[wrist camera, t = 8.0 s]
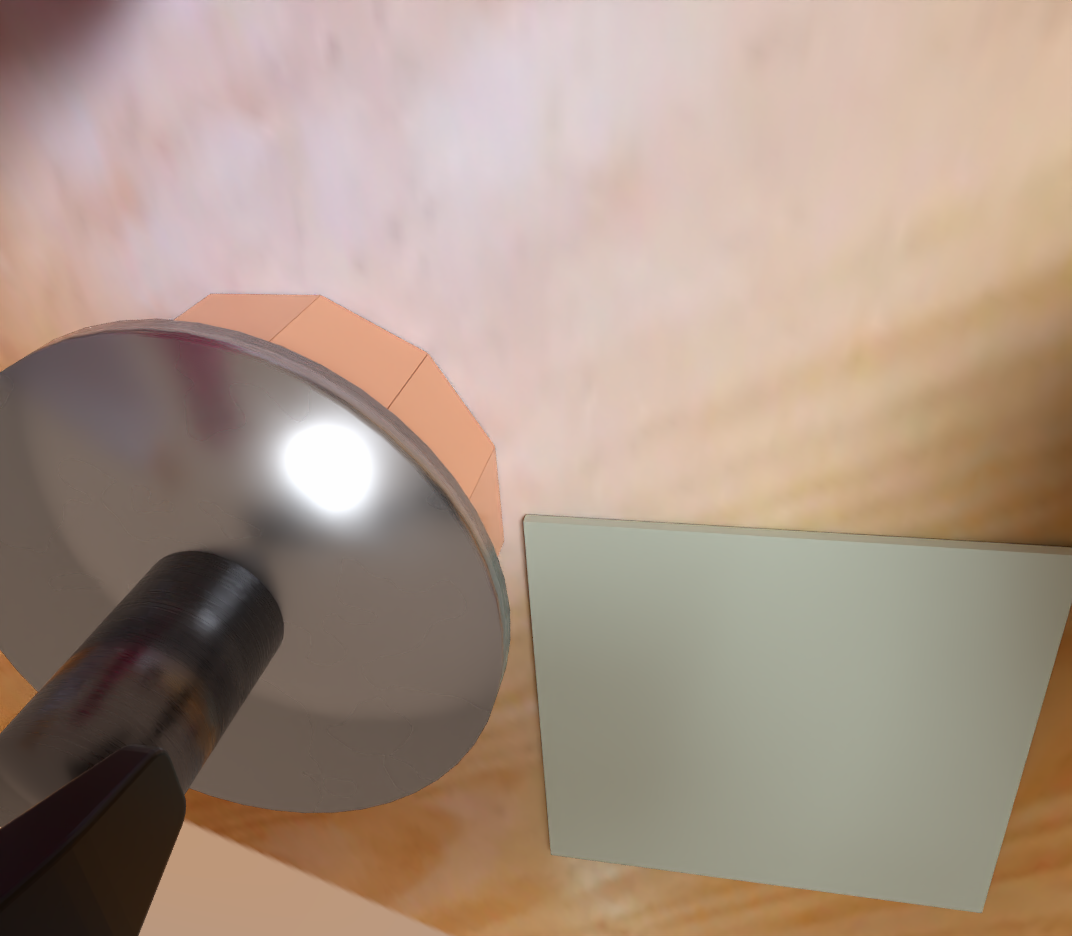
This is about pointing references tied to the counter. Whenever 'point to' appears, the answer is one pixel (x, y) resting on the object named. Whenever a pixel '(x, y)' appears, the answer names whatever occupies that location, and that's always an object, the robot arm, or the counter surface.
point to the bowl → (373, 379)
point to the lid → (234, 575)
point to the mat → (790, 700)
